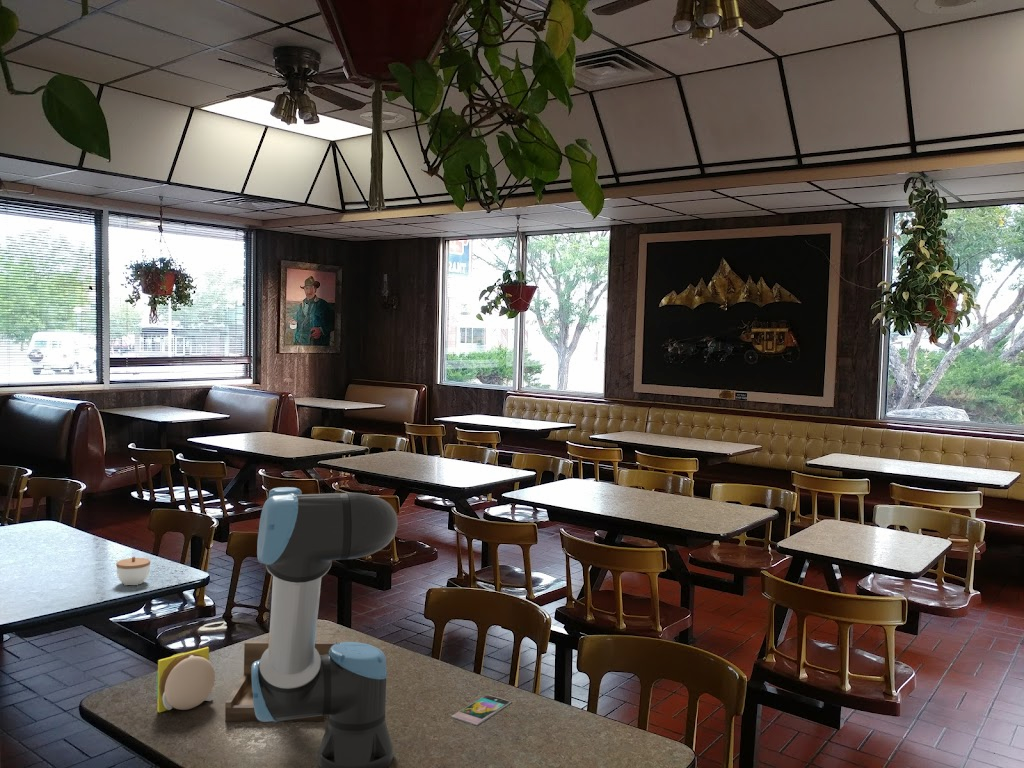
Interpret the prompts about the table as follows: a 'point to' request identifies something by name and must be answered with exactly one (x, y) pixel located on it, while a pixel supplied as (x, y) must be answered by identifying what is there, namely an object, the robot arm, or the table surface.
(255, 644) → the drawer
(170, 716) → the table surface
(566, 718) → the table surface
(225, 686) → the table surface
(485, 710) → the smartphone
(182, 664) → the hamburger
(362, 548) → the robot arm
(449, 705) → the table surface
